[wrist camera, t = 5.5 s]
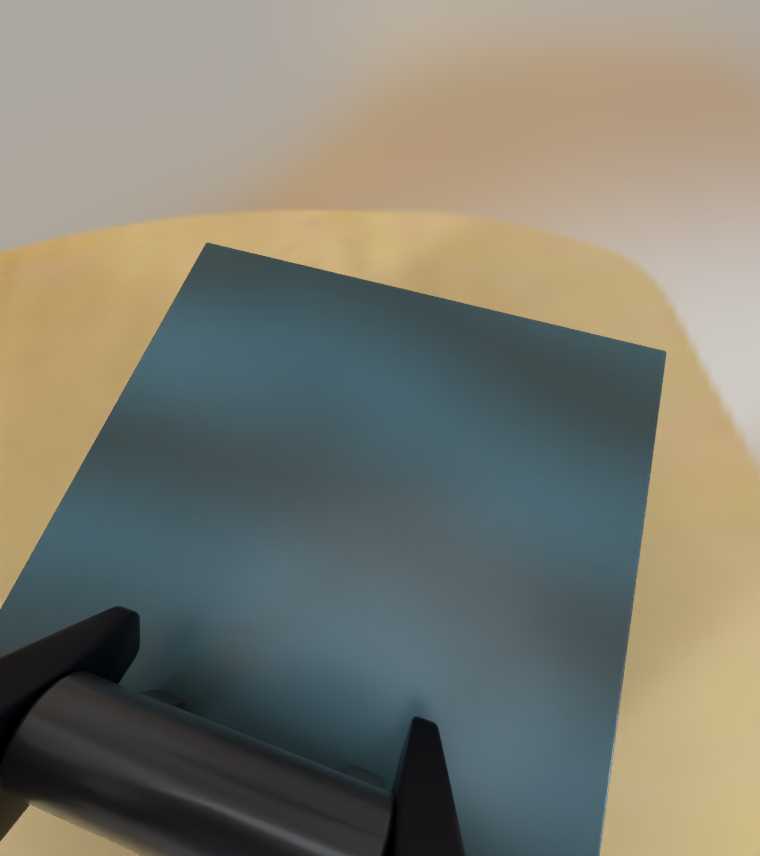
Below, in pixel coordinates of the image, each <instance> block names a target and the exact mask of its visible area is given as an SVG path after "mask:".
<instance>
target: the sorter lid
mask: <svg viewBox="0 0 760 856" xmlns="http://www.w3.org/2000/svg"><path fill="white" fill-rule="evenodd" d="M665 360H666V352H665V351H662V350H658V349H654V348H649V347H645V346H641V345H637V344H633V343H628V342H624V341H620V340H616V339H611V338H607V337H603V336H599V335H595V334H590V333H586V332H582V331H578V330H574V329H569V328H565V327H561V326H557V325H552V324H548V323H544V322H540V321H536V320H531V319H527V318H523V317H519V316H514V315H510V314H506V313H502V312H498V311H493V310H489V309H485V308H481V307H477V306H472V305H468V304H464V303H460V302H455V301H451V300H447V299H443V298H439V297H434V296H430V295H426V294H422V293H418V292H413V291H409V290H405V289H401V288H396V287H392V286H388V285H384V284H380V283H375V282H371V281H367V280H363V279H359V278H354V277H350V276H346V275H342V274H337V273H333V272H329V271H325V270H321V269H316V268H312V267H308V266H304V265H300V264H295V263H291V262H287V261H283V260H278V259H274V258H270V257H266V256H262V255H257V254H253V253H249V252H245V251H240V250H236V249H232V248H228V247H224V246H219V245H215V244H211V243H206V244H205V246H204V248H203V250H202V252H201V253H200V255H199V257H198V259H197V260H196V262H195V264H194V266H193V268H192V269H191V271H190V273H189V275H188V276H187V278H186V280H185V282H184V284H183V285H182V287H181V289H180V291H179V292H178V294H177V296H176V298H175V300H174V301H173V303H172V305H171V307H170V308H169V310H168V312H167V314H166V316H165V317H164V319H163V321H162V323H161V325H160V326H159V328H158V330H157V332H156V333H155V335H154V337H153V339H152V341H151V342H150V344H149V346H148V348H147V349H146V351H145V353H144V355H143V357H142V358H141V360H140V362H139V364H138V365H137V367H136V369H135V371H134V373H133V374H132V376H131V378H130V380H129V381H128V383H127V385H126V387H125V389H124V390H123V392H122V394H121V396H120V397H119V399H118V401H117V403H116V405H115V406H114V408H113V410H112V412H111V414H110V415H109V417H108V419H107V421H106V422H105V424H104V426H103V428H102V430H101V431H100V433H99V435H98V437H97V438H96V440H95V442H94V444H93V446H92V447H91V449H90V451H89V453H88V454H87V456H86V458H85V460H84V462H83V463H82V465H81V467H80V469H79V470H78V472H77V474H76V476H75V478H74V479H73V481H72V483H71V485H70V487H69V488H68V490H67V492H66V494H65V495H64V497H63V499H62V501H61V503H60V504H59V506H58V508H57V510H56V511H55V513H54V515H53V517H52V519H51V520H50V522H49V524H48V526H47V527H46V529H45V531H44V533H43V535H42V536H41V538H40V540H39V542H38V543H37V545H36V547H35V549H34V551H33V552H32V554H31V556H30V558H29V560H28V561H27V563H26V565H25V567H24V568H23V570H22V572H21V574H20V576H19V577H18V579H17V581H16V583H15V584H14V586H13V588H12V590H11V592H10V593H9V595H8V597H7V599H6V600H5V602H4V604H3V606H2V608H1V609H0V657H2V656H4V655H6V654H8V653H11V652H13V651H15V650H17V649H20V648H22V647H24V646H26V645H29V644H31V643H33V642H35V641H38V640H40V639H42V638H44V637H47V636H49V635H51V634H53V633H56V632H58V631H60V630H62V629H65V628H67V627H69V626H71V625H74V624H76V623H78V622H80V621H83V620H85V619H87V618H89V617H92V616H94V615H96V614H98V613H101V612H103V611H105V610H107V609H110V608H112V607H115V606H122V607H125V608H128V609H130V610H133V611H136V612H137V613H138V614H139V616H140V648H139V651H138V654H137V656H136V658H135V660H134V661H133V663H132V664H131V666H130V667H129V669H128V670H127V672H126V673H125V675H124V676H123V678H122V679H121V681H120V682H119V684H117V683H114V682H112V681H109V680H107V679H104V678H102V677H99V676H97V675H94V674H92V673H89V672H86V671H78V672H72V673H70V674H67V675H65V676H64V677H62V678H60V679H59V680H57V681H56V682H55V683H54V684H52V685H51V686H50V687H49V688H48V689H47V690H46V691H45V692H44V693H43V694H42V695H41V696H40V697H39V698H38V699H37V700H36V701H35V702H34V704H33V705H32V706H31V707H30V709H29V710H28V711H27V713H26V714H25V715H24V717H23V718H22V720H21V721H20V723H19V724H18V726H17V728H16V729H15V731H14V733H13V735H12V737H11V738H10V741H9V743H8V745H7V747H6V750H5V752H4V755H3V758H2V761H1V765H0V785H1V787H2V789H3V790H4V792H5V793H6V794H8V795H10V796H12V797H14V798H17V799H19V800H21V801H23V802H25V803H28V804H30V805H32V806H34V807H37V808H39V809H41V810H43V811H45V812H48V813H50V814H52V815H54V816H56V817H59V818H61V819H63V820H65V821H68V822H70V823H72V824H74V825H76V826H79V827H81V828H83V829H85V830H87V831H90V832H92V833H94V834H96V835H99V836H101V837H103V838H105V839H107V840H110V841H112V842H114V843H116V844H118V845H121V846H123V847H125V848H127V849H129V850H132V851H134V852H136V853H138V854H141V855H143V856H386V853H387V849H388V844H389V840H390V835H391V830H392V825H393V820H394V813H395V796H394V795H393V794H392V793H391V791H392V787H393V783H394V779H395V775H396V771H397V767H398V763H399V759H400V755H401V751H402V748H403V745H404V741H405V738H406V735H407V732H408V729H409V726H410V723H411V720H412V718H413V717H414V716H419V717H422V718H424V719H427V720H430V721H433V722H435V723H436V724H437V726H438V728H439V732H440V737H441V741H442V746H443V751H444V756H445V760H446V765H447V770H448V774H449V779H450V784H451V788H452V793H453V798H454V802H455V807H456V812H457V816H458V821H459V826H460V830H461V835H462V840H463V844H464V849H465V854H466V856H600V848H601V841H602V833H603V826H604V818H605V811H606V803H607V796H608V788H609V781H610V773H611V766H612V758H613V751H614V743H615V736H616V728H617V721H618V713H619V705H620V698H621V690H622V683H623V675H624V668H625V660H626V653H627V645H628V638H629V630H630V623H631V615H632V608H633V600H634V593H635V585H636V578H637V570H638V563H639V555H640V548H641V540H642V533H643V525H644V518H645V510H646V503H647V495H648V488H649V480H650V473H651V465H652V458H653V450H654V443H655V435H656V428H657V420H658V413H659V405H660V397H661V390H662V382H663V375H664V367H665Z"/></svg>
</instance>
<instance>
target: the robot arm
mask: <svg viewBox="0 0 760 856" xmlns="http://www.w3.org/2000/svg"><path fill="white" fill-rule="evenodd" d="M139 648H140V616H139V614H138V613H137V612H136V611H133V610H130V609H128V608H125V607H122V606H115V607H112V608H110V609H107V610H105V611H103V612H101V613H98V614H96V615H94V616H92V617H89V618H87V619H85V620H83V621H80V622H78V623H76V624H74V625H71V626H69V627H67V628H65V629H62V630H60V631H58V632H56V633H53V634H51V635H49V636H47V637H44V638H42V639H40V640H38V641H35V642H33V643H31V644H29V645H26V646H24V647H22V648H20V649H17V650H15V651H13V652H11V653H8V654H6V655H4V656H2V657H0V765H1V761H2V758H3V755H4V752H5V750H6V747H7V745H8V743H9V741H10V738H11V737H12V735H13V733H14V731H15V729H16V728H17V726H18V724H19V723H20V721H21V720H22V718H23V717H24V715H25V714H26V713H27V711H28V710H29V709H30V707H31V706H32V705H33V704H34V702H35V701H36V700H37V699H38V698H39V697H40V696H41V695H42V694H43V693H44V692H45V691H46V690H47V689H48V688H49V687H50V686H51V685H52V684H54V683H55V682H56V681H57V680H59V679H60V678H62V677H64V676H65V675H67V674H70V673H72V672H78V671H86V672H89V673H92V674H94V675H97V676H99V677H102V678H104V679H107V680H109V681H112V682H114V683H117V684H119V682H120V681H121V679H122V678H123V676H124V675H125V673H126V672H127V670H128V669H129V667H130V666H131V664H132V663H133V661H134V660H135V658H136V656H137V654H138V651H139ZM391 793H392V794H393V795H394V796H395V813H394V820H393V825H392V830H391V835H390V840H389V844H388V849H387V853H386V856H466V854H465V849H464V844H463V840H462V835H461V830H460V826H459V821H458V816H457V812H456V807H455V802H454V798H453V793H452V788H451V784H450V779H449V774H448V770H447V765H446V760H445V756H444V751H443V746H442V741H441V737H440V732H439V728H438V726H437V724H436V723H435V722H433V721H430V720H427V719H424V718H422V717H419V716H414V717H413V718H412V720H411V723H410V726H409V729H408V732H407V735H406V738H405V741H404V745H403V748H402V751H401V755H400V759H399V763H398V767H397V771H396V775H395V779H394V783H393V787H392V791H391ZM29 805H30V804H28V803H25V802H23V801H21V800H19V799H17V798H14V797H12V796H10V795H8V794H6V793H5V792H4V790H3V789H2V787H1V785H0V841H1V840H2V839H3V837H4V836H5V835H6V834H7V832H8V831H9V830H10V829H11V827H12V826H13V825H14V824H15V822H16V821H17V820H18V819H19V817H20V816H21V815H22V814H23V812H24V811H25V810H26V809H27V807H28V806H29Z"/></svg>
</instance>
